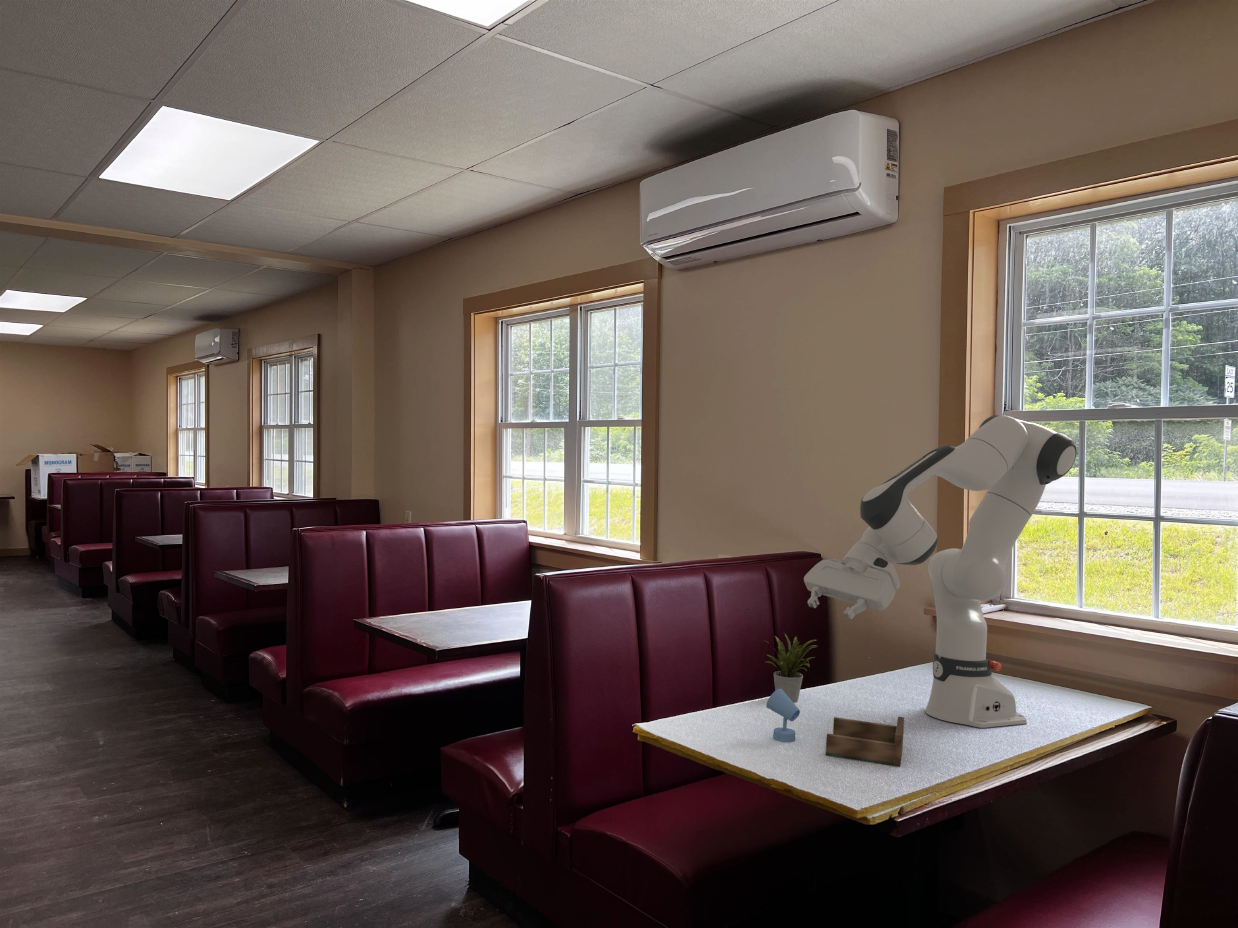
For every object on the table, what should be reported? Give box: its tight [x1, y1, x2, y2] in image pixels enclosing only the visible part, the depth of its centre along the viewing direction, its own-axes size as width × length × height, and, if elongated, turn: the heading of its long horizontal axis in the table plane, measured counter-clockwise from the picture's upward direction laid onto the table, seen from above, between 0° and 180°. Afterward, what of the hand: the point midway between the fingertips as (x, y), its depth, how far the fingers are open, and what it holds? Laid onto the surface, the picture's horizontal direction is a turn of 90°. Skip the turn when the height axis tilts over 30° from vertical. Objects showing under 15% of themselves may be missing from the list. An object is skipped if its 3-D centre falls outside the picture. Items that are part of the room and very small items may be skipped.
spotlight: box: [765, 689, 801, 743], centre depth 182 cm, size 5×10×7 cm
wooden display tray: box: [825, 716, 905, 768], centre depth 176 cm, size 14×14×6 cm
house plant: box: [763, 632, 818, 704], centre depth 212 cm, size 14×14×16 cm
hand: (828, 610), depth 185 cm, fingers open, 8 cm apart
